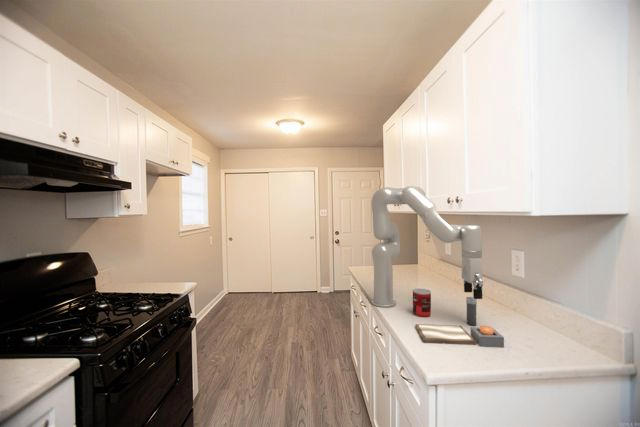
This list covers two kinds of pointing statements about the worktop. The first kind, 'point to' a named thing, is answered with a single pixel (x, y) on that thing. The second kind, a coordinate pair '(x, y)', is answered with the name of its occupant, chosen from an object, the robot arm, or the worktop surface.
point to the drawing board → (444, 334)
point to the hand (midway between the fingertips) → (472, 295)
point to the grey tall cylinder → (471, 311)
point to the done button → (486, 330)
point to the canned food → (421, 302)
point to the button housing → (487, 338)
